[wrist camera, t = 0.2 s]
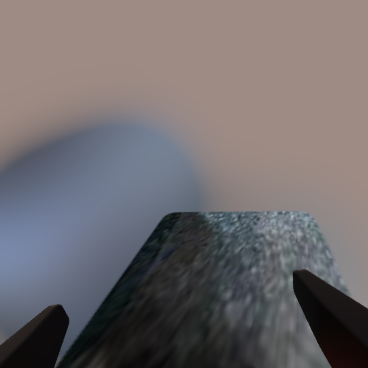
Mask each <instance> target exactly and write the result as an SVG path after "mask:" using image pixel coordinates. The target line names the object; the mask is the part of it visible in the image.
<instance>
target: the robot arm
mask: <svg viewBox="0 0 368 368" xmlns="http://www.w3.org/2000/svg"><path fill="white" fill-rule="evenodd" d="M293 289H294V293H295V295H296V297H297V300H298V302H299V304H300V306H301V308H302V310H303V313H304V315H305V317H306V319H307V321H308V323H309V325H310V328H311V330H312V332H313V334H314V336H315V338H316V340H317V342H318V344H319V346H320V348H321V350H322V352H323V353H324V355H325V357H326V359H327V360H328V362H329V364H330V366H331V367H332V368H368V308H366V307H364V306H363V305H361V304H360V303H358V302H356V301H355V300H353V299H352V298H350V297H349V296H347V295H346V294H344V293H342V292H341V291H339V290H338V289H336V288H335V287H333V286H331V285H330V284H328V283H327V282H325V281H324V280H322V279H320V278H319V277H317V276H316V275H314V274H313V273H311V272H309V271H308V270H305V269H302V270H295V271H294V272H293ZM68 325H69V317H68V316H67V314H66V312H65V310H64V308H63V307H62V305H60V304H57V305H51V306H48V307H47V308H46V309H44V310H43V311H42V312H41V313H40V314H38V315H37V316H36V317H35V318H33V319H32V320H31V321H30V322H28V323H27V324H26V325H25V326H23V327H22V328H21V329H20V330H19V331H17V332H16V333H15V334H14V335H13V336H11V337H10V338H9V339H8V340H6V341H5V342H4V343H2V344H1V345H0V368H54V366H55V363H56V361H57V358H58V355H59V352H60V349H61V346H62V343H63V340H64V337H65V334H66V331H67V328H68Z"/></svg>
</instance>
